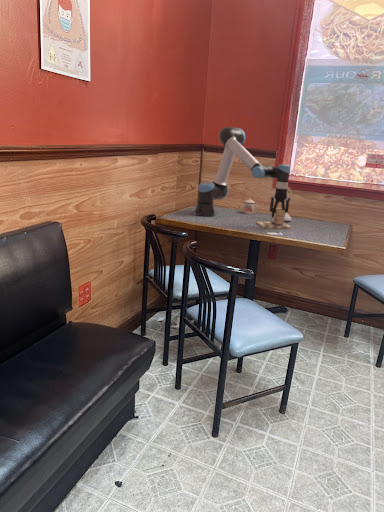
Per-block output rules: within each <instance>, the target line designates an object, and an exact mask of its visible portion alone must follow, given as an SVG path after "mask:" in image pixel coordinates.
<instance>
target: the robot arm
mask: <svg viewBox="0 0 384 512" xmlns="http://www.w3.org/2000/svg"><path fill="white" fill-rule="evenodd" d="M218 139H219V142H220V143H221V144H222V145H223V147H224V150H223V153H222V156H221V160H220V163H219V166H218V169H217V172H216V176H215V178H214V179H213V180H212V182H208V181H207V182H206V181H205V182H201V183H199V184H198V190H197V191H198V192H197V204H196V207H195V209H194V213H196V214H199V215H205V216H204V217H215V209H214V208H215V207H214V201H215V200H216V201H217V200H219V201H220V200H222V199H225V198H226V197H228V194H229V187H228V185H229V184H228V182H227V181H228V177H229V175H230V172H231V169H232V166H233V162H234V159H235V157H237V159H238V160H240V162H242V164H243V165H244V166H246V167H247V169H248V170H249V171H250V172H251V175H252V177H253V178H255V179H276V183H275V184H276V185H275V192H274V193H275V194H274V196H270V205H269V212H271V221H272V222H275V215H276V213H275V210H276V208H278V205H279V203H281V209H283V210H285V213H286V212H287V213H288V212H289V208H290V207H289V204H290V200H291V197H288V196H287V195H288V194H287V193H288V192H287V189H286V188H287V187H288V188H289V186H288V185H289V180H290V179H289V178H290V174H291V172H290V171H291V165H289V164H278V166H272V165H263V164H261V163H260V162H259V161H258V159H256V158H255V157H254V156H253V155H252V153H250V152H249V151H248V150H247V149H246V148H245V147H244V146H243V145H244V143H245V141H246V133H245V131H244V130H243V129H242V128H238V127H231V126H226V127H223V128H222V129H221V130H220V131H219V134H218ZM286 194H287V195H286ZM285 199H286V206H285V205H284V203H285ZM274 200H275V201H274ZM194 213H193V214H194ZM199 215H198V216H199ZM284 216H285V214H284ZM272 217H273V219H272Z"/></svg>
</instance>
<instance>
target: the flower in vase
mask: <svg viewBox="0 0 384 512" xmlns="http://www.w3.org/2000/svg"><path fill="white" fill-rule="evenodd" d="M286 189H287V194H286V196H287V195H288V196H290V197H293V191H292V189H291V188H290V187H289V186H288V187H287V188H286ZM284 202H285V203H284V205H285V206H286V199H285V200H284ZM290 221H292V217H291V216H290V215H289V213H288V212H286V213H285V216H284V221H283V222H290Z"/></svg>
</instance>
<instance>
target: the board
mask: <svg viewBox="0 0 384 512" xmlns="http://www.w3.org/2000/svg"><path fill="white" fill-rule="evenodd" d="M255 224H256V225H258V226H260V228H262V229H282V230H283V229H284V230H285V229H286V230H291V229H292V226H291V225H289V224H287V223H286V222H285V221H283V225H275V224H274V223H272V222H271V221H256V222H255Z"/></svg>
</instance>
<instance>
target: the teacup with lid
mask: <svg viewBox="0 0 384 512" xmlns="http://www.w3.org/2000/svg"><path fill="white" fill-rule="evenodd" d="M255 206H256V207H257V208H256V207H255ZM255 208H256V209H255ZM258 210H259V205H258V204H256V201H254V200H253V199H252V198H250V197H249V198H248V199H246V200H243V210H242V212H243V214H246V215H247V214H248V215H253V214H254V213H255V212H257V211H258Z"/></svg>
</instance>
